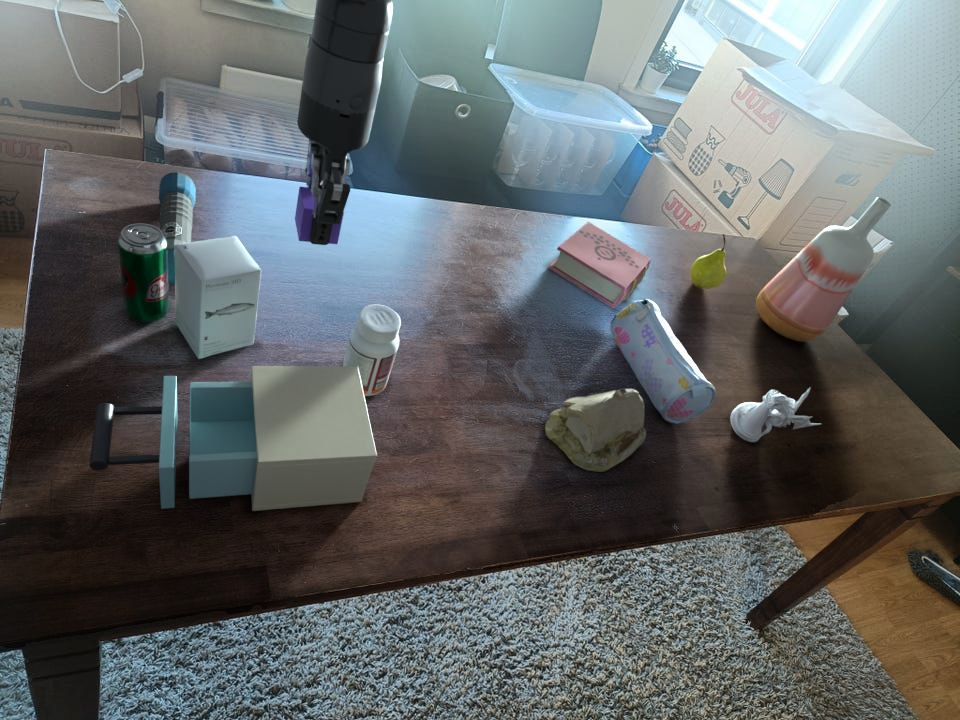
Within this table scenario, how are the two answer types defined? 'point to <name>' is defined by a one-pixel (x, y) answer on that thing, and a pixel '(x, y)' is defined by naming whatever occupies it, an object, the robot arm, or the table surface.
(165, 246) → the soda can
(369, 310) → the pill bottle
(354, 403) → the block
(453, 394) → the table surface
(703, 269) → the fruit
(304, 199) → the purple cube
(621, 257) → the book
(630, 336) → the pencil case
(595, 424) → the beige rock
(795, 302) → the vase
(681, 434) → the table surface
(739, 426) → the figurine
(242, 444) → the drawer
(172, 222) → the flashlight
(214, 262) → the white packaging box
